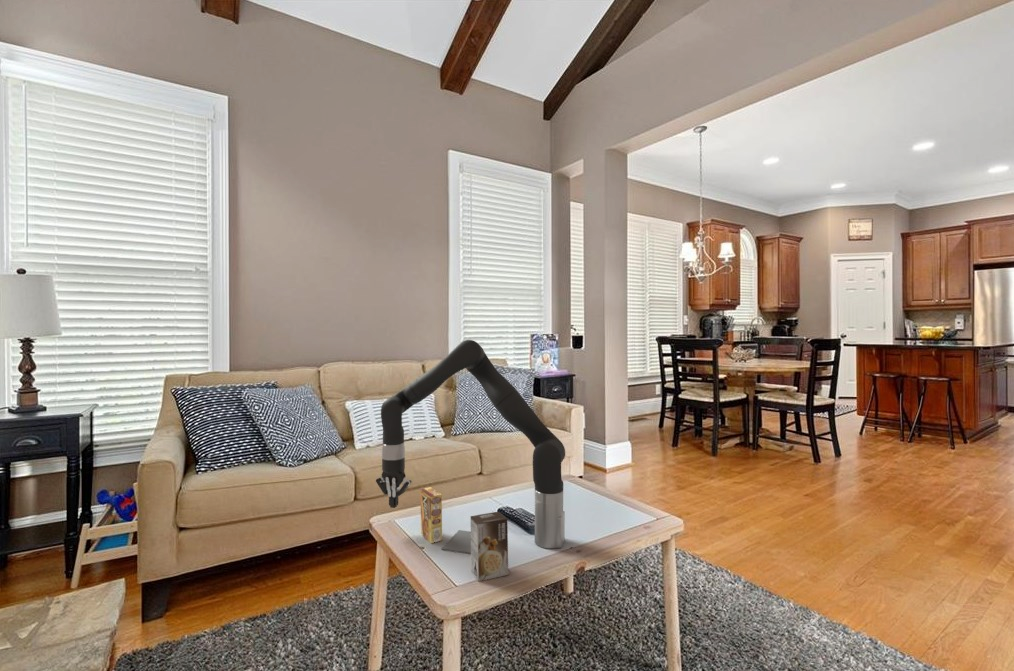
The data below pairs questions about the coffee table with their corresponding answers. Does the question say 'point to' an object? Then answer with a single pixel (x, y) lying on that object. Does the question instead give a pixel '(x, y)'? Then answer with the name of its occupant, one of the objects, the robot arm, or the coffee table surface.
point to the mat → (459, 542)
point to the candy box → (431, 514)
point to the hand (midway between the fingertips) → (393, 506)
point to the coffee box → (489, 546)
